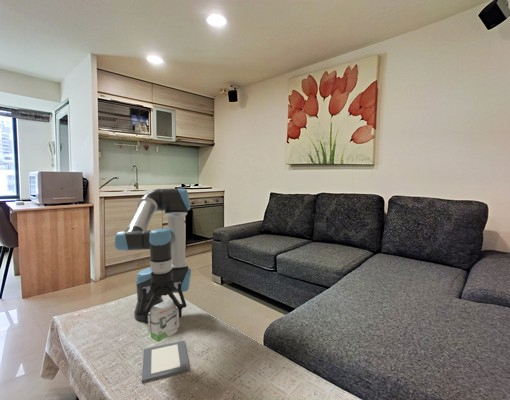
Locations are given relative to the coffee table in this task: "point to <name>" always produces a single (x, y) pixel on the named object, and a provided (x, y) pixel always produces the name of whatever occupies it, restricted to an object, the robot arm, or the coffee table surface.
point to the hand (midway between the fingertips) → (164, 328)
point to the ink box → (163, 320)
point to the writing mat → (164, 361)
